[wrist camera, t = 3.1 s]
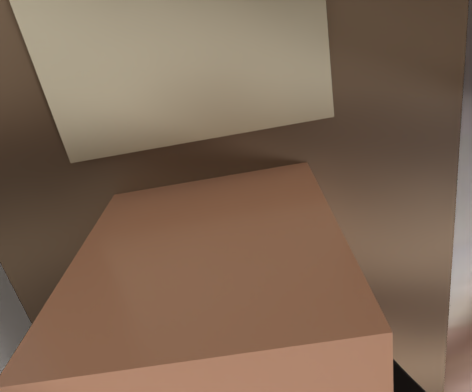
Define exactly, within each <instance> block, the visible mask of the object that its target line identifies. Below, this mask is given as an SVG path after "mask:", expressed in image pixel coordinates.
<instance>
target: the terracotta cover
mask: <svg viewBox="0 0 472 392" xmlns="http://www.w3.org/2000/svg"><path fill="white" fill-rule="evenodd" d="M0 392H393V332H392V330H391V328H390V326H389V324H388V322H387V320H386V318H385V316H384V314H383V312H382V310H381V308H380V306H379V304H378V302H377V300H376V298H375V296H374V294H373V292H372V290H371V288H370V286H369V284H368V282H367V280H366V278H365V276H364V274H363V272H362V270H361V268H360V266H359V264H358V262H357V260H356V258H355V256H354V254H353V252H352V250H351V248H350V246H349V244H348V242H347V240H346V239H345V237H344V235H343V233H342V231H341V229H340V227H339V225H338V223H337V221H336V219H335V217H334V215H333V213H332V211H331V209H330V207H329V205H328V203H327V201H326V199H325V197H324V195H323V193H322V191H321V189H320V187H319V185H318V183H317V181H316V179H315V177H314V175H313V173H312V171H311V169H310V167H309V165H308V163H307V162H304V163H298V164H292V165H286V166H280V167H275V168H269V169H263V170H257V171H251V172H245V173H239V174H233V175H227V176H221V177H216V178H210V179H204V180H198V181H192V182H186V183H180V184H174V185H168V186H163V187H157V188H151V189H145V190H139V191H133V192H127V193H121V194H115V195H114V196H113V197H112V199H111V200H110V202H109V204H108V205H107V207H106V208H105V210H104V212H103V213H102V215H101V216H100V218H99V219H98V221H97V223H96V224H95V226H94V227H93V229H92V231H91V232H90V234H89V235H88V237H87V238H86V240H85V242H84V243H83V245H82V246H81V248H80V249H79V251H78V253H77V254H76V256H75V257H74V259H73V261H72V262H71V264H70V265H69V267H68V268H67V270H66V272H65V273H64V275H63V276H62V278H61V280H60V281H59V283H58V284H57V286H56V287H55V289H54V291H53V292H52V294H51V295H50V297H49V298H48V300H47V302H46V303H45V305H44V306H43V308H42V310H41V311H40V313H39V314H38V316H37V317H36V319H35V321H34V322H33V324H32V325H31V327H30V329H29V330H28V332H27V333H26V335H25V336H24V338H23V340H22V341H21V343H20V344H19V346H18V347H17V349H16V351H15V352H14V354H13V355H12V357H11V359H10V360H9V362H8V363H7V365H6V366H5V368H4V370H3V371H2V373H1V374H0Z"/></svg>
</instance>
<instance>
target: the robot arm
mask: <svg viewBox="0 0 472 392" xmlns="http://www.w3.org/2000/svg"><path fill="white" fill-rule="evenodd" d="M393 392H426V391H425V390H424V389H423V388H422V387H421V386H420V385H419V384H418V383H417V382H416V381H415V380H413V379H412V378H411V377H410V376H409V374H408V373H407V372H406V371H405V370H404V369H403V368H402V367H401V366H400V365H399V364H398V363H397V362H396V361H395V360H394V359H393Z"/></svg>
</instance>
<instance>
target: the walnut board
mask: <svg viewBox="0 0 472 392" xmlns="http://www.w3.org/2000/svg"><path fill="white" fill-rule="evenodd" d="M468 4H469V0H0V263H1V265H2V267H3V269H4V271H5V273H6V275H7V277H8V278H9V280H10V282H11V284H12V286H13V288H14V290H15V292H16V294H17V296H18V298H19V300H20V302H21V304H22V306H23V308H24V310H25V311H26V313H27V315H28V317H29V319H30V321H31V323H32V324H33V322H34V321H35V319H36V317H37V316H38V314H39V313H40V311H41V310H42V308H43V306H44V305H45V303H46V302H47V300H48V298H49V297H50V295H51V294H52V292H53V291H54V289H55V287H56V286H57V284H58V283H59V281H60V280H61V278H62V276H63V275H64V273H65V272H66V270H67V268H68V267H69V265H70V264H71V262H72V261H73V259H74V257H75V256H76V254H77V253H78V251H79V249H80V248H81V246H82V245H83V243H84V242H85V240H86V238H87V237H88V235H89V234H90V232H91V231H92V229H93V227H94V226H95V224H96V223H97V221H98V219H99V218H100V216H101V215H102V213H103V212H104V210H105V208H106V207H107V205H108V204H109V202H110V200H111V199H112V197H113V196H114V195H115V194H121V193H127V192H133V191H139V190H145V189H151V188H157V187H163V186H168V185H174V184H180V183H186V182H192V181H198V180H204V179H210V178H216V177H221V176H227V175H233V174H239V173H245V172H251V171H257V170H263V169H269V168H275V167H280V166H286V165H292V164H298V163H304V162H307V163H308V165H309V167H310V169H311V171H312V173H313V175H314V177H315V179H316V181H317V183H318V185H319V187H320V189H321V191H322V193H323V195H324V197H325V199H326V201H327V203H328V205H329V207H330V209H331V211H332V213H333V215H334V217H335V219H336V221H337V223H338V225H339V227H340V229H341V231H342V233H343V235H344V237H345V239H346V240H347V242H348V244H349V246H350V248H351V250H352V252H353V254H354V256H355V258H356V260H357V262H358V264H359V266H360V268H361V270H362V272H363V274H364V276H365V278H366V280H367V282H368V284H369V286H370V288H371V290H372V292H373V294H374V296H375V298H376V300H377V302H378V304H379V306H380V308H381V310H382V312H383V314H384V316H385V318H386V320H387V322H388V324H389V326H390V328H391V330H392V332H393V359H394V360H395V361H396V362H397V363H398V364H399V365H400V366H401V367H402V368H403V369H404V370H405V371H406V372H407V373H408V374H409V376H410V377H411V378H412V379H413V380H415V381H416V382H417V383H418V384H419V385H420V386H421V387H422V388H423V389H424V390H425V391H426V392H444V378H445V363H446V347H447V331H448V316H449V300H450V285H451V269H452V254H453V238H454V222H455V207H456V191H457V176H458V160H459V145H460V129H461V113H462V98H463V82H464V67H465V51H466V36H467V20H468Z"/></svg>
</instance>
